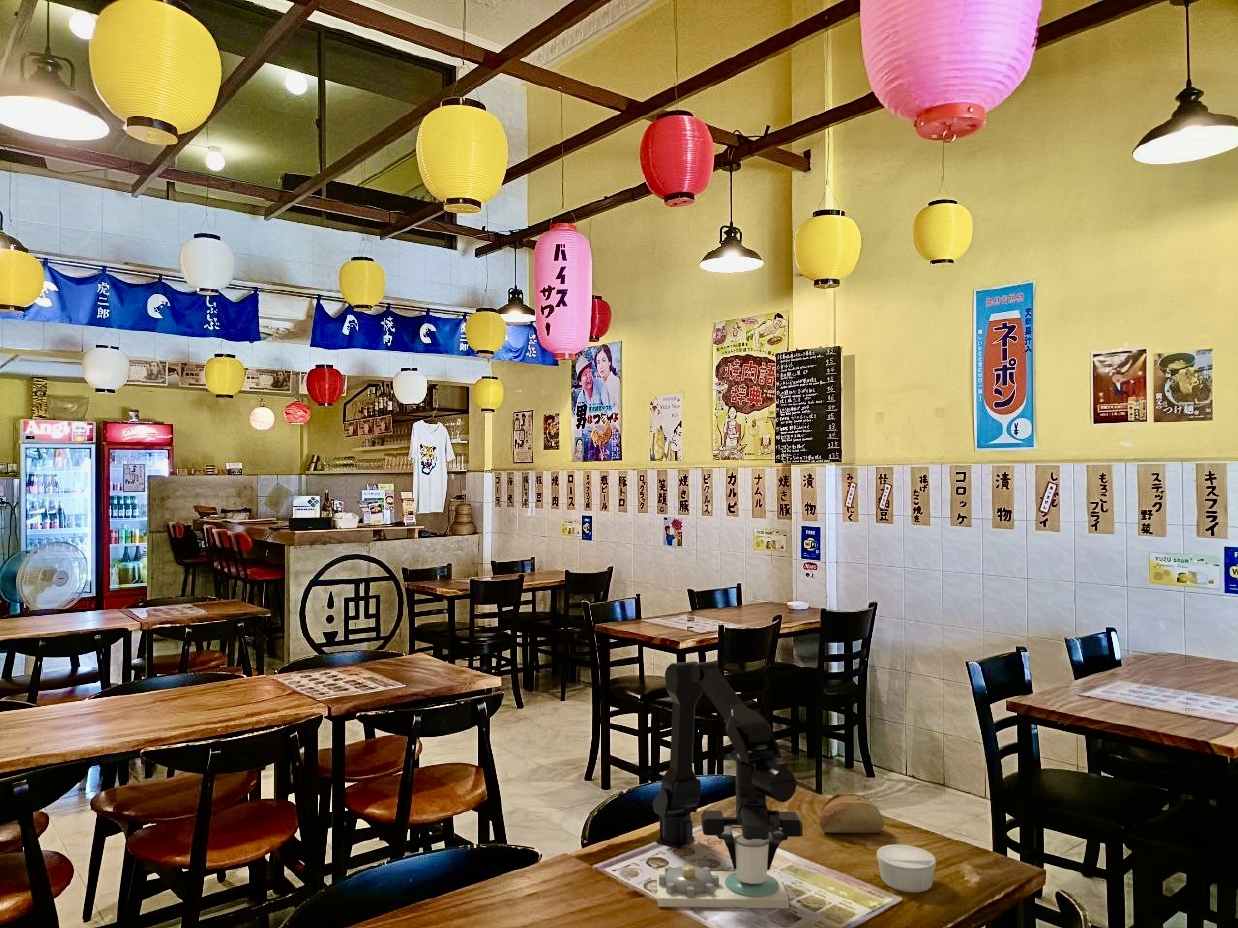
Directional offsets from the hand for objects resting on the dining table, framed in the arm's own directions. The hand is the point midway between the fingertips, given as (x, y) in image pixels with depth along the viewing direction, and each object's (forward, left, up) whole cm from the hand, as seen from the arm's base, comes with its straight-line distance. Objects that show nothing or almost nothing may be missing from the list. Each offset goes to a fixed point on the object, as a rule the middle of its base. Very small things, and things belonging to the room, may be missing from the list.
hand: (751, 868), depth 159 cm
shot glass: (0, 0, -2) cm, 2 cm away
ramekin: (+23, +22, -5) cm, 32 cm away
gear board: (-5, -3, -4) cm, 7 cm away
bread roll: (+5, +42, -5) cm, 42 cm away
